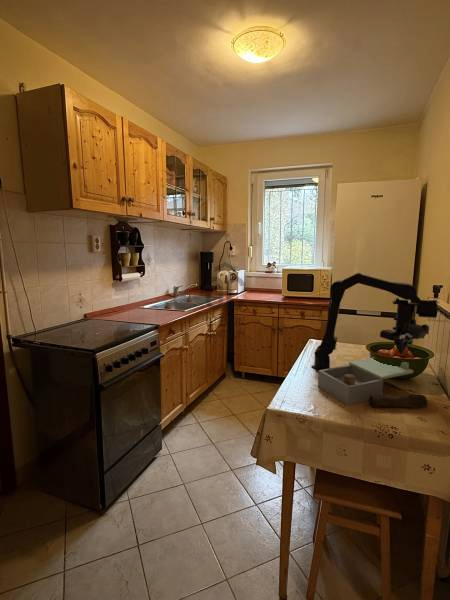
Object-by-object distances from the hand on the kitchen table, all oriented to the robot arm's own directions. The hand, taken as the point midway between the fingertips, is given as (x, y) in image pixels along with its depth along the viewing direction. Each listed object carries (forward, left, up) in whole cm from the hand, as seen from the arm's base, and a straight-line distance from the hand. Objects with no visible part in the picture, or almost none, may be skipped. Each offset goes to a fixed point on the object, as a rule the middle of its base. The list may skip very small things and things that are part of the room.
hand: (401, 353), depth 127 cm
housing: (0, -26, -11) cm, 28 cm away
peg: (0, -26, -11) cm, 28 cm away
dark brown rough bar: (+15, -18, -12) cm, 26 cm away
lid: (0, -11, -5) cm, 12 cm away
